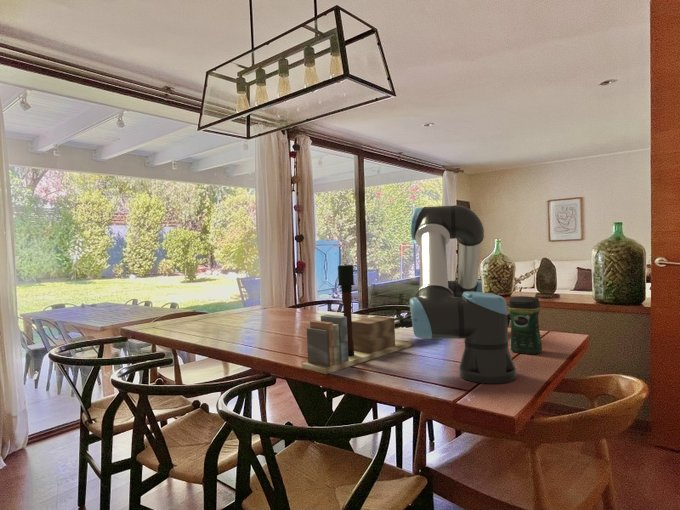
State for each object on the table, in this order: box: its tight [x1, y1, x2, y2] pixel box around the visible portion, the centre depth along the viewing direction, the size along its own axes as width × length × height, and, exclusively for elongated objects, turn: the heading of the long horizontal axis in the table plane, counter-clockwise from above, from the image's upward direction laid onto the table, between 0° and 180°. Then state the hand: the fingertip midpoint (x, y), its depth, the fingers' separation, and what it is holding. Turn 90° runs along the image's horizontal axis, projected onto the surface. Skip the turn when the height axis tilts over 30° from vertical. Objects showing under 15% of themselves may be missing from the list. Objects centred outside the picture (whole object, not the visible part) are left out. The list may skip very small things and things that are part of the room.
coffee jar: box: [508, 295, 543, 355], centre depth 148 cm, size 10×8×19 cm
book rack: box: [301, 314, 413, 375], centre depth 152 cm, size 44×11×16 cm, turn 135°
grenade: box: [337, 264, 355, 356], centre depth 147 cm, size 6×6×30 cm
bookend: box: [352, 315, 396, 354], centre depth 156 cm, size 14×8×10 cm, turn 135°
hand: (387, 326), depth 162 cm, fingers closed
